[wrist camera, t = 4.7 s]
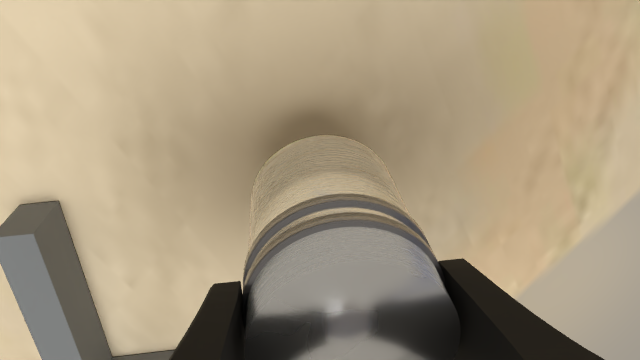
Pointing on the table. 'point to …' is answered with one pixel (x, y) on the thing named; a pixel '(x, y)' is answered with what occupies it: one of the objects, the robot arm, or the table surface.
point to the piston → (340, 263)
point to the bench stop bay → (53, 286)
